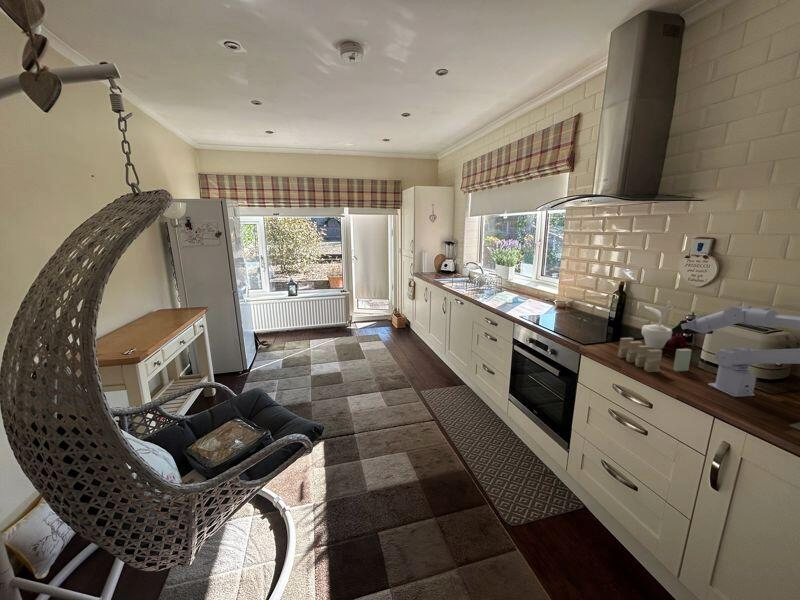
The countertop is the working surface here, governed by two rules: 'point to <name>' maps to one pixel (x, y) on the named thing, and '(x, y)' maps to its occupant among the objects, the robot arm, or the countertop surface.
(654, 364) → the domino
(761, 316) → the robot arm
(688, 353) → the domino
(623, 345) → the domino
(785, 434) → the countertop surface
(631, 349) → the domino
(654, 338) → the potted plant
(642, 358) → the domino
